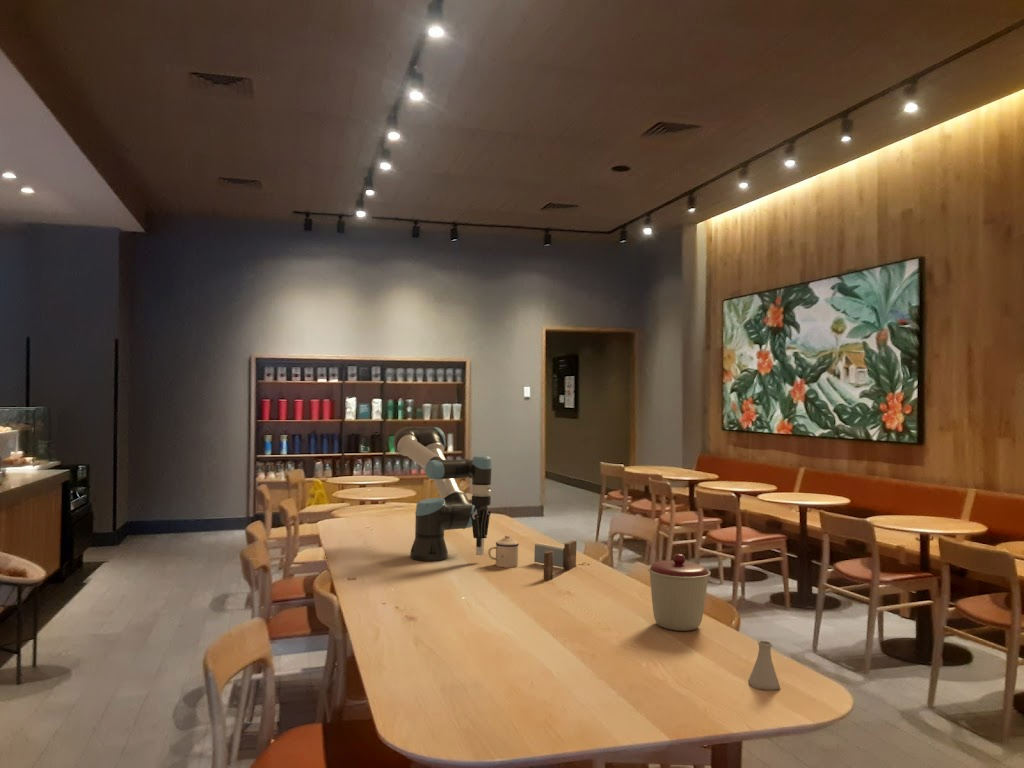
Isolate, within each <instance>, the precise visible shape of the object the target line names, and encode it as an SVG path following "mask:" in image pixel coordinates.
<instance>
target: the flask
mask: <svg viewBox="0 0 1024 768" xmlns="http://www.w3.org/2000/svg"><path fill="white" fill-rule="evenodd" d="M757 644H758V645H757V646H758V652H757V657H756V659H755V662H754V665H753V668H752V670H751V673H750V674H749V677H748V679H747V681H748V685H750V686H752V687H754V688H755V689H758V690H765V691H773V690H778V689H779V690H780V689H781V686H780V683H779V680H778V677H777V673H776V670H775V667H774V663H773V658H772V654H771V653H772V652H771V650H772V649H771V648H772V647H773V643H772V642H771V641H769V640H764V639H763V640H758V641H757Z"/></svg>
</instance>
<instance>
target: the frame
mask: <svg viewBox="0 0 1024 768" xmlns="http://www.w3.org/2000/svg"><path fill="white" fill-rule="evenodd" d="M576 567H577V540H569V541H567V542H564V568H563V569H562V570H559V571H558V572H555V573H553V571H554V566H553V551H547V552H544V564H543V577H542V578H543V581H551V580H553V579H555V578H557V577H559V576H561V575H563V574H565V573H566V572H569V571H570V570H572V569H573V568H576ZM564 572H565V573H564ZM562 573H563V574H562Z"/></svg>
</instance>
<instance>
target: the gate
mask: <svg viewBox="0 0 1024 768" xmlns="http://www.w3.org/2000/svg"><path fill="white" fill-rule="evenodd" d="M547 551H553V567H558V568H563V569H564V547H563V546H558V545H552V544H546V543H542V542H541V543H540V542H534V563H538V564H542V565H544V552H547Z"/></svg>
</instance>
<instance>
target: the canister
mask: <svg viewBox="0 0 1024 768" xmlns="http://www.w3.org/2000/svg"><path fill="white" fill-rule="evenodd" d="M647 571H648V572H649V579H650V593H651V594H650V595H651V604H652V613H653V618H654V621H655V623H656V624H657V625H658V626H660V627H661V628H663V629H667V630H671V631H679V632H681V631H682V632H687V631H689V632H690V631H692V630H696V629H698V628H699V627H700V626H701V624H702V621H703V617H704V616H703V615H704V609H705V605H706V596H707V589H708V580H709V577H710V576H711V571H710V570H709V569H707V568H706V567H705V566H704V565H701V564H699V563H694V562H691V561H686V557H685V555H684V554H682V553H675V554H674V555H673V557H672V560H660V561H657V562H653V563H652V564H651V565H649V566H648V567H647Z"/></svg>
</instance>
